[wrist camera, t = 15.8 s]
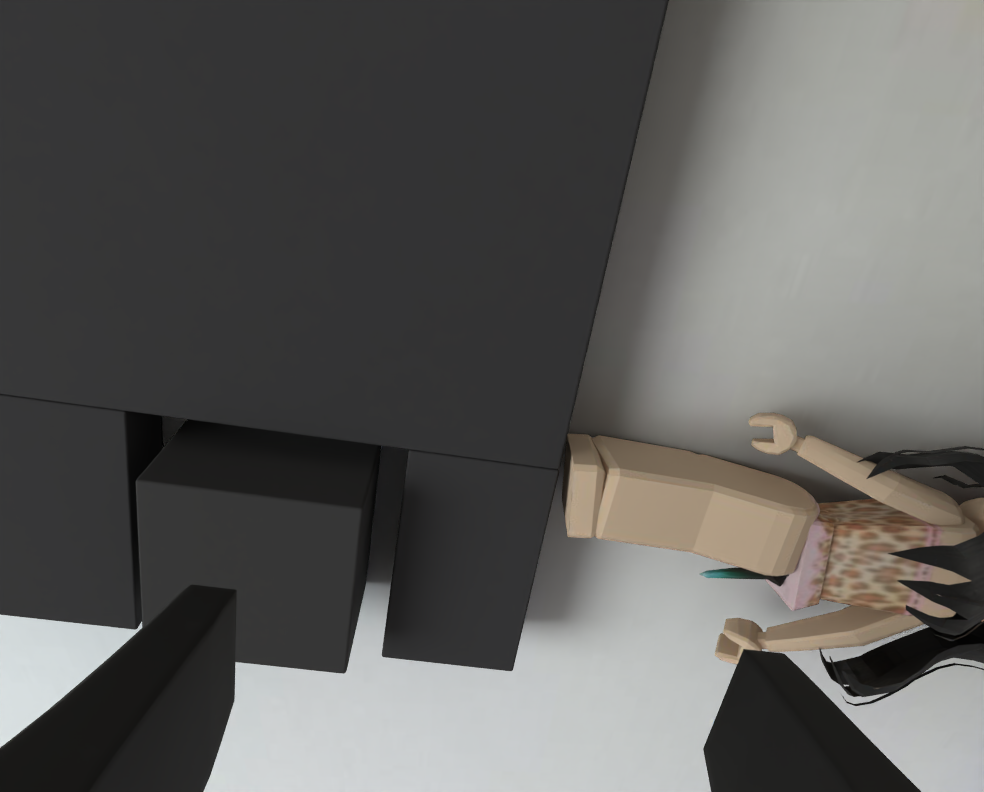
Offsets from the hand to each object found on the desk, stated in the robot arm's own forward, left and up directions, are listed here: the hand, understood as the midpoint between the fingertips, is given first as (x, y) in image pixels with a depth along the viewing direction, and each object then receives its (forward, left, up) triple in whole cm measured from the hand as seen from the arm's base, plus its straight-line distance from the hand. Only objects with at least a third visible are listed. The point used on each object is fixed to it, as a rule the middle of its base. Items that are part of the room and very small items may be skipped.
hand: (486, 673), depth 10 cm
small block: (-4, +5, -9) cm, 11 cm away
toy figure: (-2, -10, -10) cm, 14 cm away
